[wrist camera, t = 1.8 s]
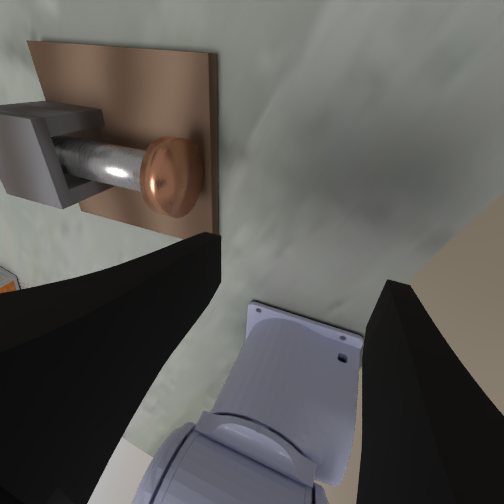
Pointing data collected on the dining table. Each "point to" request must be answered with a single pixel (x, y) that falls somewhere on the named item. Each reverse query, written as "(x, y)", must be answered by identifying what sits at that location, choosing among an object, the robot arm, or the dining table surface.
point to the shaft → (139, 169)
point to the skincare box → (8, 281)
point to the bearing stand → (113, 127)
